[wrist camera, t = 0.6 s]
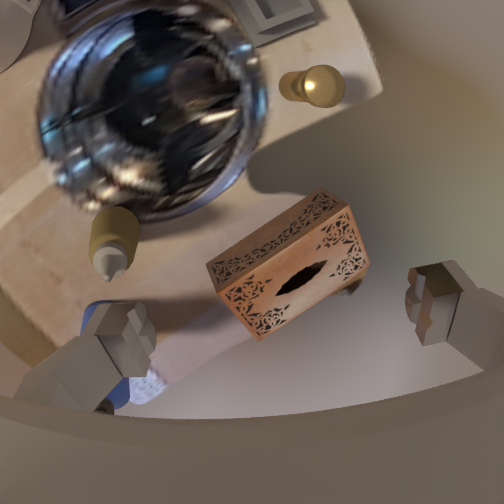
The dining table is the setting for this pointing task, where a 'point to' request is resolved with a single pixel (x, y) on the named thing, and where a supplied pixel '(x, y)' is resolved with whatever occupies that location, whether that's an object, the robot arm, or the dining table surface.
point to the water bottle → (121, 390)
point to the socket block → (271, 17)
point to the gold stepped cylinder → (314, 86)
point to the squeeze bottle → (113, 241)
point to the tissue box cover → (290, 263)
